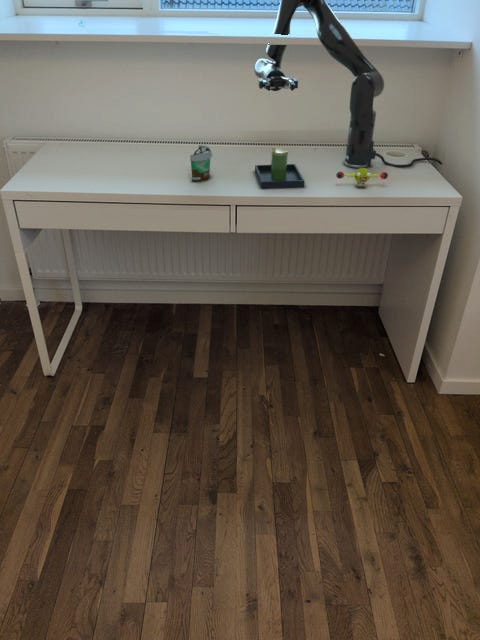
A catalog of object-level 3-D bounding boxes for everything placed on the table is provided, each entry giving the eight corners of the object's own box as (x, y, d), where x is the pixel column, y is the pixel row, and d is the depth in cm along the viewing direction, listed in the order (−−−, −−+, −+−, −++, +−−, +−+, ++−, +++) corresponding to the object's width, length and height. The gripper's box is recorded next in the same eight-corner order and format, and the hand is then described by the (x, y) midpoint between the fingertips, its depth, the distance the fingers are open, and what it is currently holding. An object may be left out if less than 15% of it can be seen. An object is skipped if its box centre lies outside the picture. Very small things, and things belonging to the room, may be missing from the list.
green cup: (284, 174, 199) (286, 147, 193) (287, 180, 194) (289, 152, 188) (269, 175, 198) (270, 147, 192) (271, 180, 193) (272, 153, 188)
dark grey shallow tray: (294, 170, 204) (295, 164, 202) (303, 187, 190) (304, 180, 188) (254, 171, 202) (255, 165, 201) (261, 188, 188) (261, 181, 187)
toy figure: (336, 189, 188) (338, 170, 184) (334, 184, 193) (336, 165, 189) (387, 190, 188) (391, 171, 185) (384, 184, 193) (387, 165, 189)
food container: (207, 184, 191) (207, 156, 185) (191, 183, 192) (189, 155, 186) (216, 172, 201) (215, 145, 195) (200, 171, 202) (199, 144, 196)
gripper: (255, 67, 203) (261, 76, 190) (293, 67, 205) (301, 76, 191) (255, 88, 208) (261, 99, 194) (291, 88, 209) (299, 98, 196)
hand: (281, 87), depth 193 cm, fingers open, 8 cm apart
